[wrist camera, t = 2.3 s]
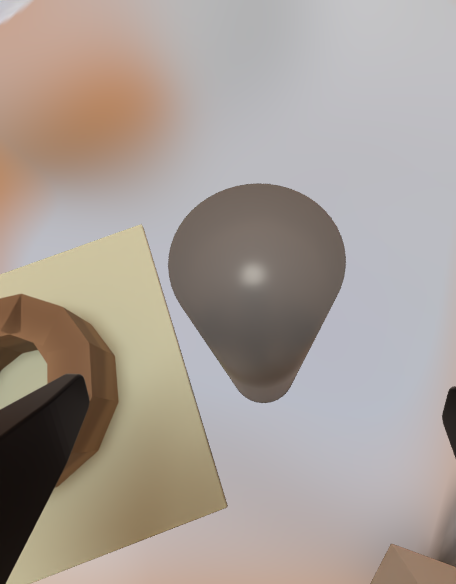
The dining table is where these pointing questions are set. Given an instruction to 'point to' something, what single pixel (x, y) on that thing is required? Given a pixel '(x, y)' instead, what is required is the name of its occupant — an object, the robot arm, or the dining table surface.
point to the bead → (63, 362)
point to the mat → (117, 410)
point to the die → (412, 569)
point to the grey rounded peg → (258, 281)
